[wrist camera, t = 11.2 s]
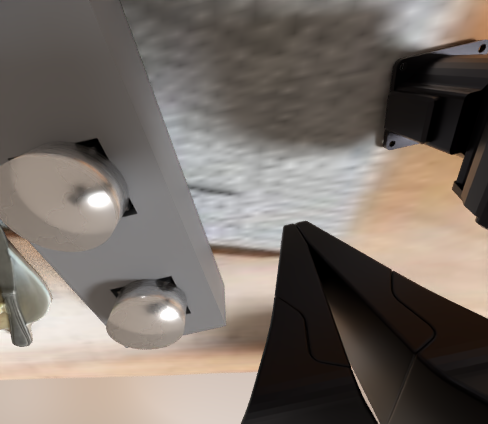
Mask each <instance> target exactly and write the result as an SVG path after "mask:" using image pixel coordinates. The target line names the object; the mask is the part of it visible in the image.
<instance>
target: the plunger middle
mask: <svg viewBox="0 0 488 424" xmlns="http://www.w3.org/2000/svg"><path fill="white" fill-rule="evenodd" d="M131 206H132V202H131V200H130V198H129V190H128V186H127V183H126V181H125V179H124V177H123V175H122V174H121V172H120V171H119V170H118V168H117V167H116V166H115V165H114V164H113V163H112V162H111V161H110V160H109V159H108V157H107V155H106V153H105V152H104V150H103V148H102V146H101V144H100V142H99V140H98V138H94V139H90V140H85V141H81V142H77V143H72V142H51V143H46V144H43V145H41V146H39V147H37V148H35V149H33V150H31V151H28V152H26V153H24V154H22V155H20V156H18V157H16V158H14V159H12V160H10V161H8V162H6V163H4V164H2V165H1V166H0V219H1V220H2V221H3V223H5V224H6V225H7V226H8V227H9V228H10V229H11V230H12V231H14V232H15V233H16V234H18V235H19V236H21V237H22V238H24V239H26V240H28V241H30V242H32V243H34V244H36V245H39V246H42V247H44V248H48V249H52V250H57V251H64V252H80V251H86V250H90V249H93V248H95V247H98V246H99V245H101V244H103V243H104V242H105V241H106V240H107V239H108V238H109V237H110V236H111V234H112V233H113V231H114V229H115V228H116V226H117V224H118V222H119V221H120V219H121V217H122V216H123V214H124V212H125V211H128V210H129V209H130V208H131Z"/></svg>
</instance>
